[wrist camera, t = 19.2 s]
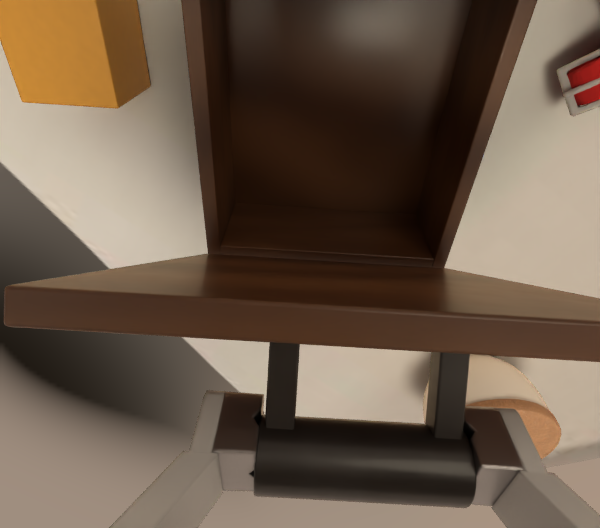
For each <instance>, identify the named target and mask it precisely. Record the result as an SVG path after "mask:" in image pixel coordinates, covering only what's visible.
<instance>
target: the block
mask: <svg viewBox="0 0 600 528" xmlns="http://www.w3.org/2000/svg"><path fill="white" fill-rule="evenodd" d="M0 41H1V43H2V46H3V49H4V52H5V55H6V58H7V60H8V63H9V66H10V69H11V72H12V75H13V77H14V80H15V83H16V86H17V89H18V92H19V94H20V97H21V100H22V102H28V103H43V104H58V105H73V106H88V107H103V108H120V107H121V106H122V105H124V104H125V103H127V102H128V101H130V100H131V99H133V98H134V97H136V96H137V95H138V94H140V93H141V92H143V91H144V90H146V89H147V88H149V87H150V79H149V73H148V67H147V61H146V55H145V48H144V42H143V36H142V30H141V24H140V17H139V11H138V5H137V0H0Z"/></svg>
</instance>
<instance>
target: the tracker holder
mask: <svg viewBox="0 0 600 528" xmlns="http://www.w3.org/2000/svg"><path fill="white" fill-rule="evenodd" d="M570 69H571V70H570ZM569 70H570V71H569ZM557 75H558V78H559V81H560V84H561V87H562V91H563V97H564V98H565V100H566V103H567V106H568V109H569V112H570V115H572V116H576V115H578V114H581V113H584V112H586V111H589V110H591V109H594V108H597V107H599V106H600V49H598V50H596V51H594V52H592V53H590V54H588V55H585V56H583V57H581V58H579V59H577V60H575V61H573V62H571V63H569V64H567V65H565V66H562V67H560V68H558V69H557ZM585 104H586V105H585ZM580 105H584V106H580Z"/></svg>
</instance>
